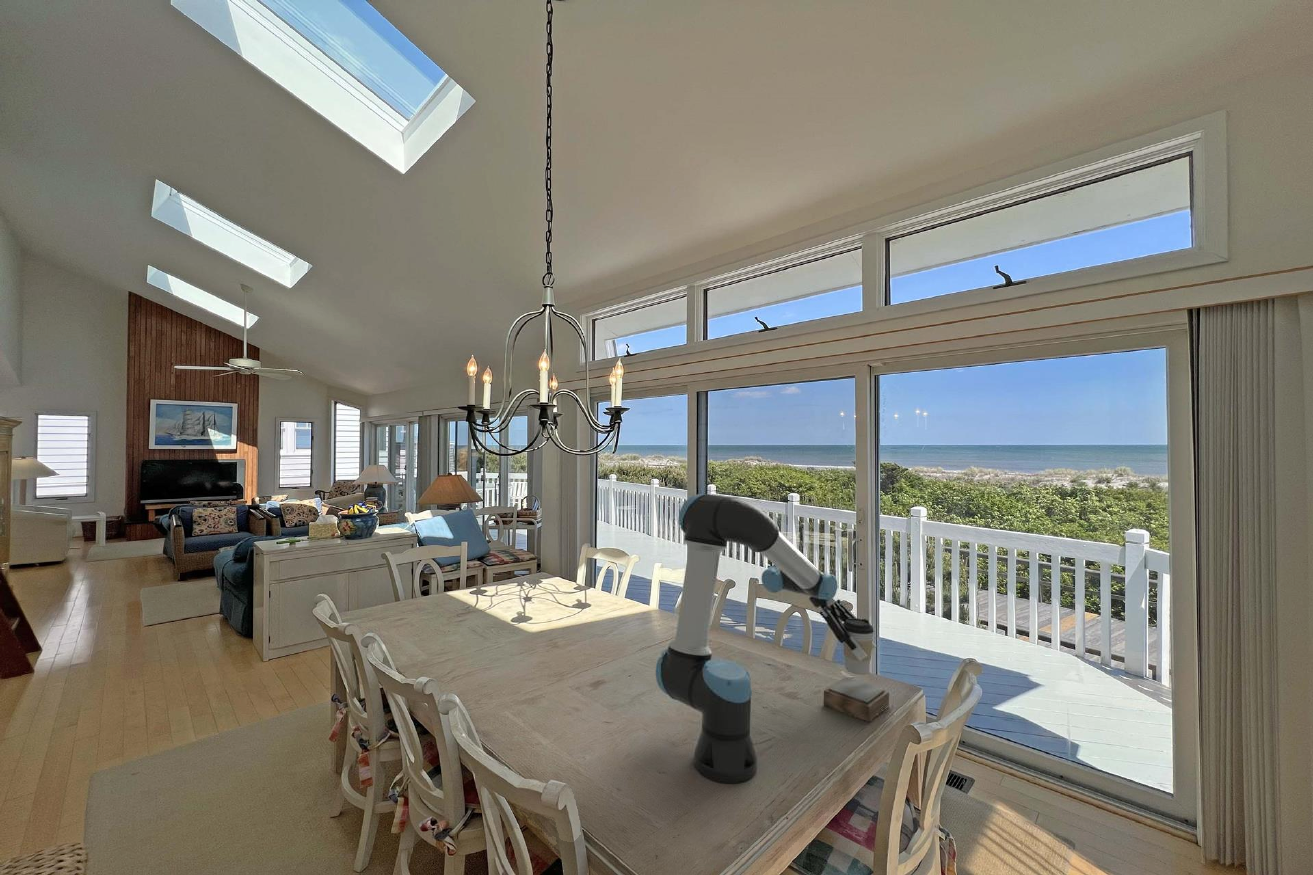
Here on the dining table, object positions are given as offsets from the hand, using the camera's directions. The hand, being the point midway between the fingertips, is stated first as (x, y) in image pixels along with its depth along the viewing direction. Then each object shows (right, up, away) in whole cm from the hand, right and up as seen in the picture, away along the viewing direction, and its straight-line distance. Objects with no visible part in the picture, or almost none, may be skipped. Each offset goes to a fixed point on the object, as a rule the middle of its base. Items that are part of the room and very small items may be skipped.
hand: (868, 653), depth 160 cm
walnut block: (-3, -16, +1) cm, 17 cm away
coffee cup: (-3, -6, +2) cm, 7 cm away
